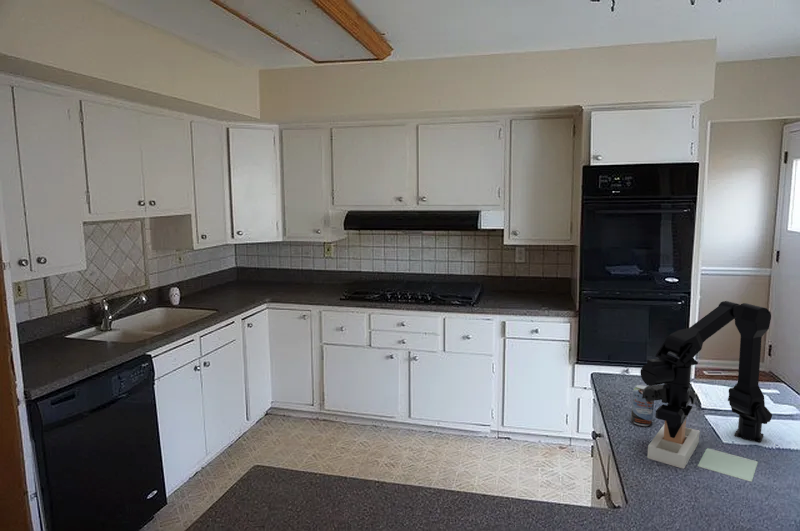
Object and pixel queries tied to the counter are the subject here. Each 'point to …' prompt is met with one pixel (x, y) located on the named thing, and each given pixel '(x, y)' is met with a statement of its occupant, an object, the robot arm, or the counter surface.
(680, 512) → the counter surface
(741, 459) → the mat
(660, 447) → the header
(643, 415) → the beverage can
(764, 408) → the robot arm
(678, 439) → the tan rectangular block
